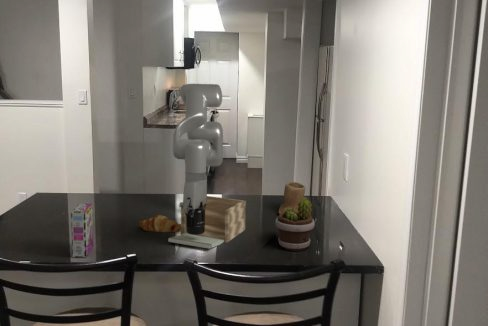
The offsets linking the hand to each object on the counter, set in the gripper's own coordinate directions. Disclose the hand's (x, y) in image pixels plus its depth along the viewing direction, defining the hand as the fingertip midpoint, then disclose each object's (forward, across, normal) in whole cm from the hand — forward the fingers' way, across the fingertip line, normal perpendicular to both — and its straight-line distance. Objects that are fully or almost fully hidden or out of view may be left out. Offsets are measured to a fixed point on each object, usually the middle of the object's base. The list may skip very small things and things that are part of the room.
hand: (195, 223), depth 172 cm
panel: (+8, -6, 0) cm, 10 cm away
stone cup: (+9, -58, +19) cm, 62 cm away
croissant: (+9, -10, -21) cm, 25 cm away
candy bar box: (+9, +22, -33) cm, 41 cm away
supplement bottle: (+3, 0, 0) cm, 3 cm away
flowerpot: (+9, -16, +33) cm, 38 cm away
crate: (+9, -15, 0) cm, 17 cm away
